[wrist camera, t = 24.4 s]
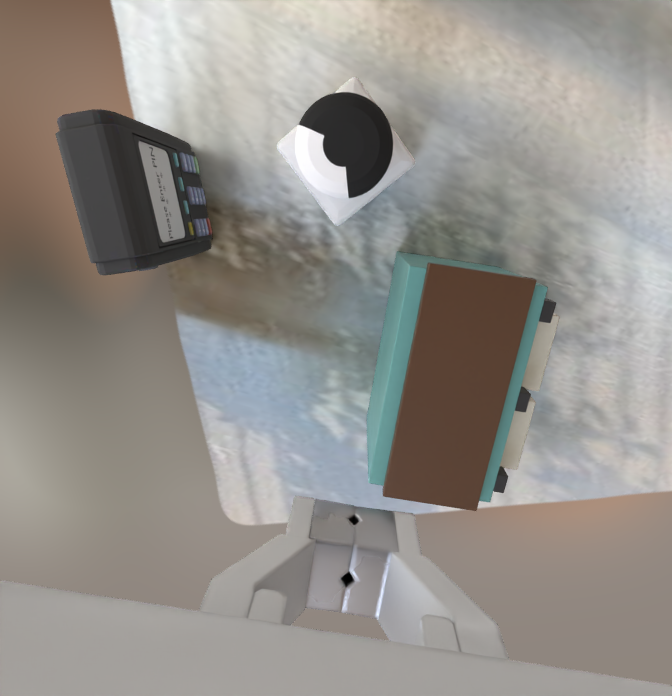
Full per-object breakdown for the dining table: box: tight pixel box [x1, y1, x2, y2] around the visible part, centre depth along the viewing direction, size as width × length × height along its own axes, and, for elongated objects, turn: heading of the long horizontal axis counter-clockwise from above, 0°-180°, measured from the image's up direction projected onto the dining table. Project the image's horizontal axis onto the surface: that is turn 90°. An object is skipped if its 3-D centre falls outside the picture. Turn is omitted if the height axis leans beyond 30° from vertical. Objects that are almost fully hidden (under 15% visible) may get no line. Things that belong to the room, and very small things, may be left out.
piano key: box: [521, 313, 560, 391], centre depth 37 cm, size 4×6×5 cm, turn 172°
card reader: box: [56, 110, 213, 275], centre depth 35 cm, size 9×4×15 cm, turn 8°
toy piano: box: [367, 251, 556, 511], centre depth 39 cm, size 10×17×12 cm, turn 172°
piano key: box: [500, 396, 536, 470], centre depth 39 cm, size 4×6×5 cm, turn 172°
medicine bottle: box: [277, 77, 415, 226], centre depth 35 cm, size 7×7×12 cm
